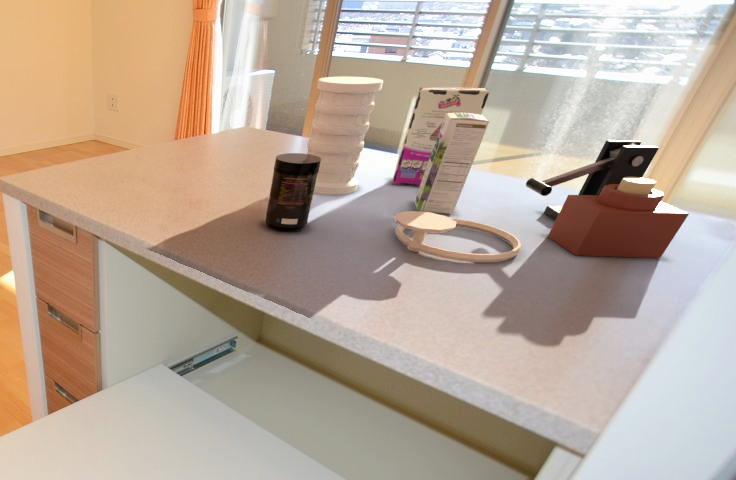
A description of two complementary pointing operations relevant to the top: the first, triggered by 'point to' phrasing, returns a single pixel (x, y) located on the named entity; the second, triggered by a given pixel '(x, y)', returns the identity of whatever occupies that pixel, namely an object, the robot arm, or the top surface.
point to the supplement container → (292, 191)
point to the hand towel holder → (440, 223)
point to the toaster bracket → (614, 168)
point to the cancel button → (636, 185)
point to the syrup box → (450, 162)
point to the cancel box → (617, 224)
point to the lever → (571, 174)
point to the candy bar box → (432, 127)
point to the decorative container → (341, 130)
